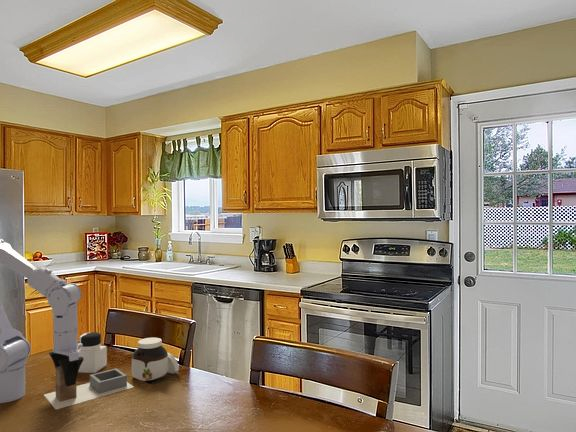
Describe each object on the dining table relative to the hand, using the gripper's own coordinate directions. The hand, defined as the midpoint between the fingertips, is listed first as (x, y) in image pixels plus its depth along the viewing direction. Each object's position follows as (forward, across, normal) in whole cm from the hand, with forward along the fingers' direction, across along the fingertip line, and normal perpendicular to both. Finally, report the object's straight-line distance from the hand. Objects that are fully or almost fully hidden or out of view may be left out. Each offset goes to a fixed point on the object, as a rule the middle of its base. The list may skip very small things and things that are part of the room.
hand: (66, 381), depth 113 cm
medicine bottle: (+6, +18, -12) cm, 22 cm away
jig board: (+5, 0, -6) cm, 8 cm away
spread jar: (+6, -1, -25) cm, 26 cm away
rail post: (+4, 0, 0) cm, 4 cm away
